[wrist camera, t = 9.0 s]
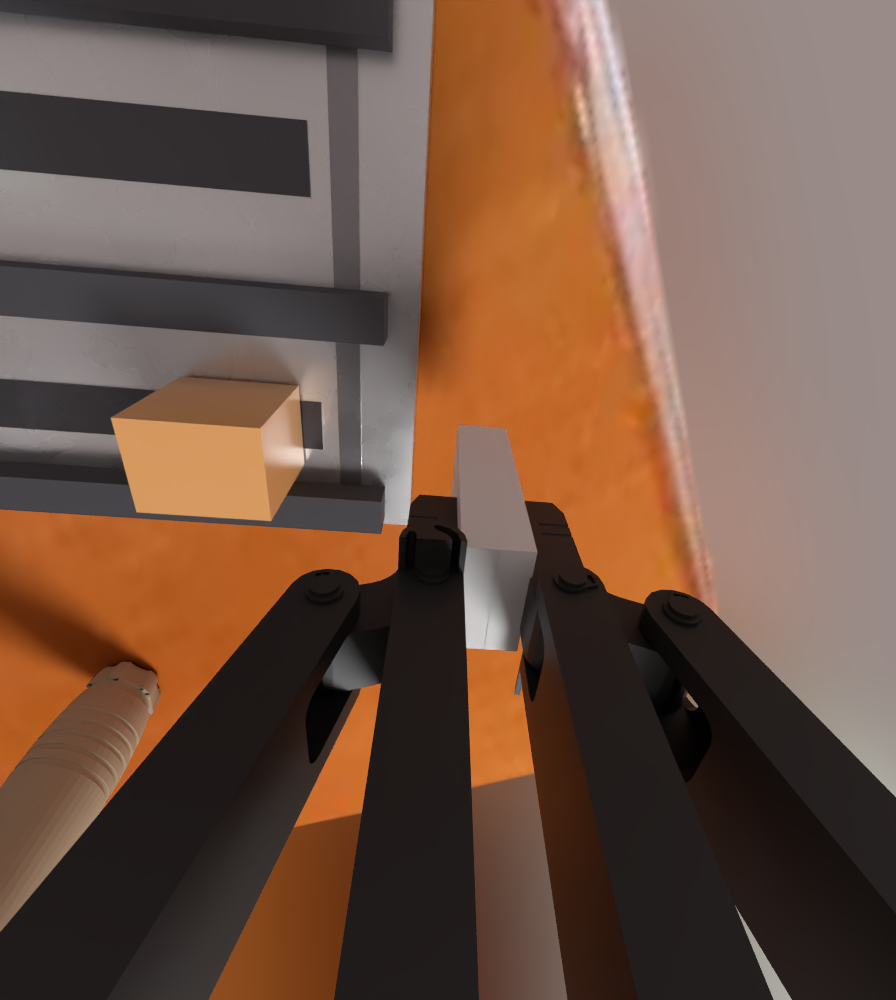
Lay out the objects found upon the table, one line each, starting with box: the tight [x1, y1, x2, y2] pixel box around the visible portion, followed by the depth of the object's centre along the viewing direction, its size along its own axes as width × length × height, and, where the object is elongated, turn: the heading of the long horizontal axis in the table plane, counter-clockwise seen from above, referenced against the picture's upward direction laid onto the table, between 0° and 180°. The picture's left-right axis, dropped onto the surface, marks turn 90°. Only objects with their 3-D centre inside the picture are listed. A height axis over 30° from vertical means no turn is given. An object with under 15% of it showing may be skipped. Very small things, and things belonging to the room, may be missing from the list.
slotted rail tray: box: [0, 0, 393, 534], centre depth 15 cm, size 19×16×1 cm
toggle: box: [111, 377, 304, 521], centre depth 16 cm, size 4×3×4 cm
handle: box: [0, 662, 161, 932], centre depth 20 cm, size 5×6×15 cm
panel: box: [0, 0, 436, 525], centre depth 16 cm, size 21×16×2 cm
